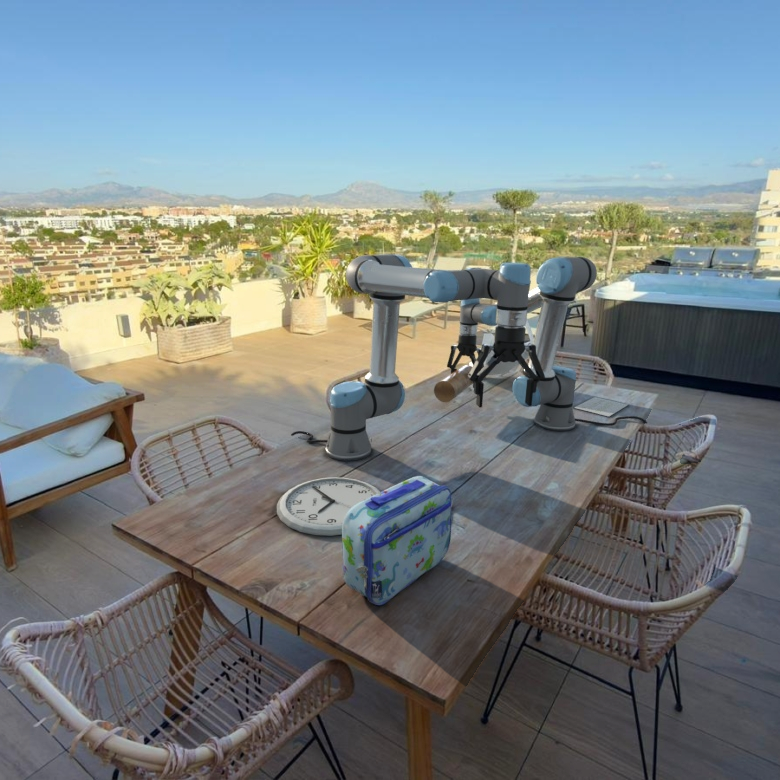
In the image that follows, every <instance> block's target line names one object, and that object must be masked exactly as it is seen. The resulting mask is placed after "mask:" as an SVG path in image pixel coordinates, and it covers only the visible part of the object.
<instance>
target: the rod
mask: <svg viewBox="0 0 780 780" xmlns="http://www.w3.org/2000/svg"><path fill="white" fill-rule="evenodd" d="M471 369H472V367H471V366H469V364H466V365H462V366H460V367H459V368H457V370H456V371H455V372H453V373H452V374H451V373H450V374H448V375H447V376H446V377H444V378H442V379H441V380H439V381H438V382H437V383H436V384H435V385H434V387H433V394H434V396H435V398H436V399H437V400H438V401H440V402H441V403H450V402H451V401H453V400H454V399H456V398H457V397H458V396H459V395H460V394H461V393H463V392H464V391H465V390H467V389H468V388H469V387H470V386H473V381H471V380H470V379H469V378H468V377H467V376H468V374H469V372H470V370H471Z"/></svg>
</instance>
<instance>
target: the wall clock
mask: <svg viewBox="0 0 780 780" xmlns="http://www.w3.org/2000/svg"><path fill="white" fill-rule="evenodd" d="M380 492H382V491H381V490H380V489H379V488H377V487H376V486H374V485H372V484H371V483H369V482H365V481H362V480H359V479H355V478H349V477H338V476H337V477H335V476H333V477H332V476H331V477H322V478H317V479H312V480H307V481H305V482H302V483H299V484H297V485H295V486H293V487H292V488H290V489H288V490H287V491H286V492H285V493H284V494H283V495H281V496H280V498H279V499H278V502H277V503H276V515H277V517H278V518H279V520H280V521H281V522H282V523H283V524H285V525H286V526H287V527H288V528H290V529H293V530H295V531H297V532H299V533H303V534H308V535H312V536H327V537H328V536H329V537H331V536H332V537H333V536H342V525H343V521H344V518H345V516H346V514H347V512H348V511H349V510H350V509H351V508H352V507H353V506H354V505H356V504H358V503H360V502H362V501H364V500H366V499H368V498H370V497H372V496H374V495H376V494H378V493H380Z"/></svg>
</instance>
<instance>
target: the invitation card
mask: <svg viewBox="0 0 780 780" xmlns="http://www.w3.org/2000/svg"><path fill="white" fill-rule="evenodd" d="M628 406H629V404H627V403H623V402H618V401H614V400H609V399H605V398H601V397H596V396H593V397H592V398H590V399H588V400H586V401H584V402H582V403H580V404H578V405H575V406H574V407H573V409H575V410H581V411H584V412H587V413H593V414H596V415H600V416H604V417H608V418H609V417H611V416H613V415H614V414H616V413H617V412H619V411H621V410H623V409H624V408H626V407H628Z"/></svg>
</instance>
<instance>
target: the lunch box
mask: <svg viewBox="0 0 780 780" xmlns="http://www.w3.org/2000/svg"><path fill="white" fill-rule="evenodd" d="M451 495H452V491H451V489H450V487H449V486H447V485H444V484H442V485H440V484H437V483H436V482H434V481H432V480H430V479H428V478H427V477H425V476H422V475H416V476H413V477H411V478H408V479H406V480H403V481H401V482H399V483H397V484H395V485H393V486H390V487H388V488H386V489H384V490H382V491H381V492H380V493H378V494H376V495H374V496H372V497H370V498H368V499H366V500H364V501H362V502H360V503H358V504H356V505H354V506H353V507H352V508H351V509H350V510H349V511H348V512H347V514H346V516H345V518H344V521H343V525H342V535H341V543H342V544H341V545H342V569H343V578H344V583H345V585H346V586H347V587H349V588H351V589H352V590H354V591H356V592H357V593H360V594H361V595H362V596H363V597H365V598H367V601H369V603H372V604H373V605H376V606H383V605H385V604H386V603H388V602H389V601H390V600H391V599H392V598H394V597H395V596H396V595H397V594H399V593H400V592H401V591H403V590H404V589H406V588H407V587H408V586H410V585H411V584H413V583H414V582H416V580H417V579H418V578H420V576H422V575H423V574H425V573H426V572H428V571H430V570H432V569H433V568H435V567H436V566H438V565H439V564H440V563H441V562H442V561H443V560H444V558H445V557H446V555H447V552H448V551H449V548H450V544H451V539H452V515H453V514H452V511H453V510H452V508H451V503H452V496H451Z"/></svg>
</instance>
